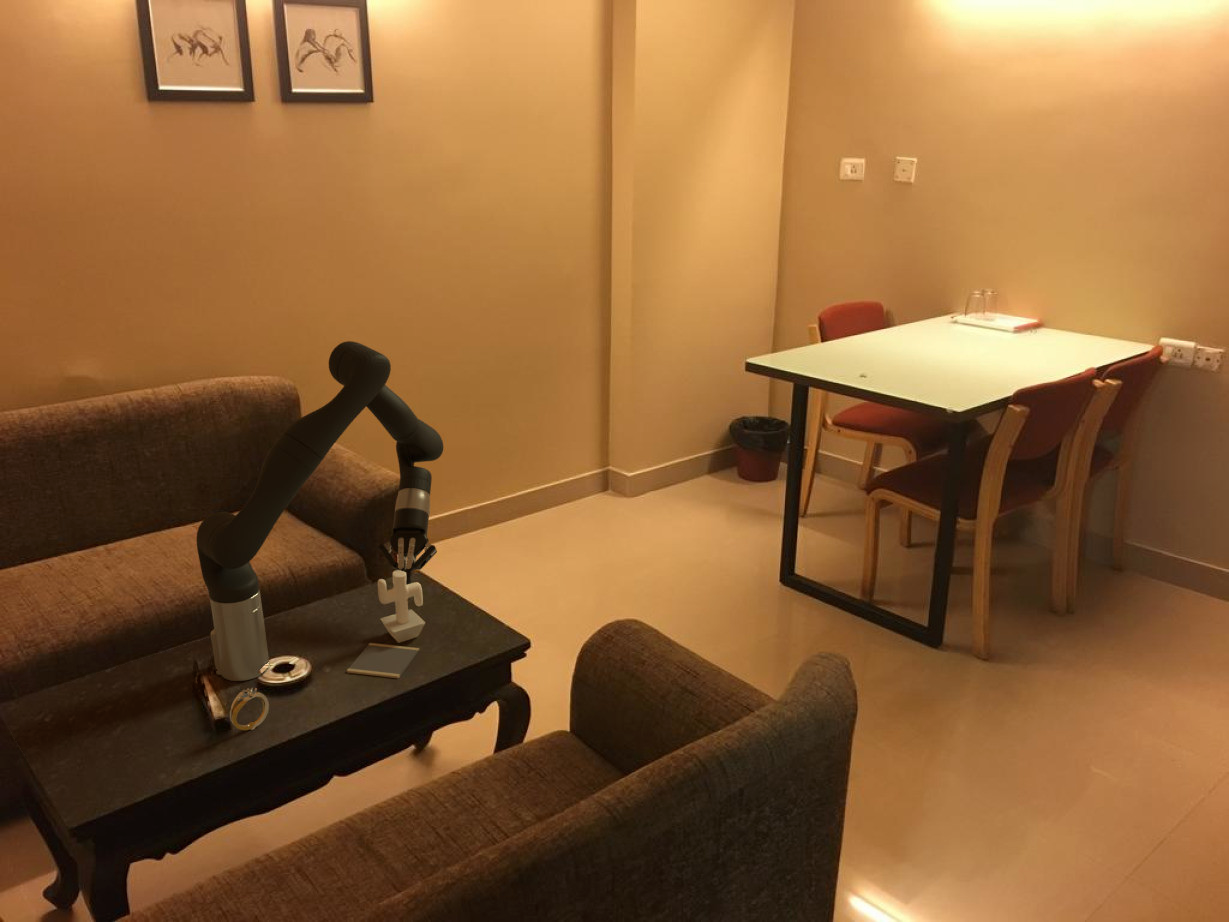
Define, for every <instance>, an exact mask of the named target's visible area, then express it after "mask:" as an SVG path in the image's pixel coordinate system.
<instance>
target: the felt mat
mask: <svg viewBox="0 0 1229 922" xmlns="http://www.w3.org/2000/svg"><path fill="white" fill-rule="evenodd" d="M418 652H420V648H419V647H413V646H412V647H409V646H400V645H392V644H384V643H383V644H382V643H374V642H369V643H368V645H367V646H366V647H365V648H364V649H363V651H362V652H361V653H360V654H359V656H357V658H356V659H355V660H354V661H353V663H352V664H351V665H350V666H349V667H347V669H346V673H349V674H358V675H368V676H374V677H375V676H376V677H385V678H393V679H399V678H400V677H401V675H402V674H403V673H404V672H405V671H406V669H407V668H408V666H409V665H410V664H411V662H412V661H413V659H414V658H415V657H416V655H417V654H418Z"/></svg>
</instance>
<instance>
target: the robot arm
mask: <svg viewBox="0 0 1229 922" xmlns="http://www.w3.org/2000/svg"><path fill="white" fill-rule="evenodd" d="M391 367H392V365H391V362H390V360H389V358H388V357H387V356H385V354H383V353H381V352H379V351H376V350H375V349H373V348H371V347H369V346H366V345H364V344H363V343H360V342H356V341H350V340H348V341H343V342H341V343H339V344H337V345H336V346H335V347H334V348H333V350H332V351H331V353H330V356H329V358H328V371H329V373H330V375H331V376H332V378H333V380H335V381H336V382H338V383H339V384H340V385H342V386H343V387H342V388H341V389H340V390H339V392H338V393H337V394H336V395H335V396H334V397H333V398H332V399H331V400H330V401H329V402H327V403H326V404H325V405H324V406H322V407H319V408H318V409H315V410H313V411H312V412H309V413H308V414H306V415H304V416H302V417H300V418H298V419H296V420H294V422H292V423H291V424H289V425H288V426H287V427H286V428H285V429H284V431H282V433H281V434H280V436H279V437H278V438H277V439H276V440H275V442H274V443H273V444H272V446H271V447H270V449H269V451H268V452H267V454H266V456H265V458H264V460H263V464H262V466H261V470H260V473H259V476H258V479H257V483H256V485H255V487H254V491H253V492H252V494H251V496H250V497H249V499H248V500H247V502H245V504H244V505H243V506H242V508H241V509H240V510H239V512H238V513H237V514H236V515H235V514H234V513H232V512H228V511H217V512H214V513H211V514H209V515H208V516H207V517H205V518H204V519H203V520H201V523H200V524H199V526H198V529H197V533H196V548H197V553H198V554H197V555H198V562H199V566H200V569H201V575H202V579H203V581H204V584H205V587H206V588H207V590H208V596H209V601H210V607H211V614H212V621H213V627H214V628H213V629H212V630H211V632H210V640H211V645H212V653H213V658H214V664H215V671H216V669H217V671H216V672H215V673H216V675H219V676H221V677H222V678H224V679H225V680H228V681H230V682H231V681H232V682H233V681H234V682H242V681H243V682H244V681H249V680H252V679H256V678H258V677H260V676H262V675H261V674H260V672H259V673H258V671H259V670H260V669H261V668H262V667H263V666H264V665H265V664H267V663H268V662H269V663H270V660H269V659H270V658H269V651H268V643H267V637H266V636H267V634H266V628H265V619H264V613H263V612H264V611H263V604H262V598H261V591H260V590H261V589H260V582H259V577H258V575H257V573H256V572H255V569H253V566H252V565H251V561H252V560H253V558H254V557H256V555H257V553H259V551H260V549H261V548H262V546H263V545H264V543H265V541H266V540H267V538H268V536H269V534H270V533H271V531H272V530H273V528H274V526H275V525H276V524H277V521H278V520H279V519H280V517H281V516H282V514H283V513H284V511H285V510H286V508H287V507H288V505H290V503H291V502H292V501H293V499H294V498H295V497H296V495H297V494H298V493H299V491H300V490H301V488H302V487H303V485H304V484H305V483H306V482H307V481H308V479H309V478H310V477H311V476H312V475H313V473H314V472H315V471H316V469H317V468H318V467H319V465H320V464H321V463H322V461H324V459H325V457H326V456H327V455H328V453H329V452H330V450H331V449H332V448H333V446H334V445H335V444H336V442H337V441H338V440H339V438H340V437H341V436H342V435H343V434H344V432H345V431H346V430H347V429H348V427H349V426H350V425H351V423H353V421H355V419H356V418H357V417H358V416H359V415H360V414H361V413H362V412H363V411H364V409H365V408H367V410H369V411H370V412H371V413H372V414H373V416H375V418H376V419H377V420H378V422H379V423H380V424H381V426H382V427H383V428H384V429H385V430H386V432H387V433H388V434H389V435H390V437H392V439H393V440H394V441H395V442H396V443H395V450H396V456H397V461H398V467H399V484H398V490H397V491H398V494H397V497H396V501H395V508H394V517H393V525H392V533H391V535H390V537H389V539H388V541H387V542H385V543H384V544H379V545H378V549H379V551H380V552H381V553H382V555H383V557H385V559H386V560H387V562H388V564H389V566H390V567H391V568H392V569H393V570H394V571H396V570H401V571H404V572H406V579H407V580H406V585H408V584H411V583H412V581H413V572H415V571H421V570H422V569H423V568H424V567H425V566H426V564H427V563H428V562H429V561H430V560H432V558H433V557H434V556H435V555H436V554H437V552H438V550H437V548H436V546H435V545H434V544H431V543H430V541H429V538H428V528H429V519H430V514H431V513H430V512H431V489H432V488H431V487H432V481H433V479H432V473H431V472H430V471H429V470H428V469H426V468H425V467H420V466H415V463H424V462H425V463H426V462H434V461H437V460H438V459H439V458H441V456H442V455H443V451H444V442H443V439H442V437H441V435H440V434H439V432H438V431H437V430H436V429H435V428H433V427H432V426H431V425H429V424H427V423H426V422H424V420H421V419H419V418H418V417H417V416H416V414H415V413H414V411H413V410H412V409H411V408H410V406H409V405H408V404H407V403H406V402H405V401H404V400H403V399H402V398H401V397H400V396H399V395H398V394H396V393H395V392H394V391H393V390H392V389H390V388H389V387H388V386H387V385H386V383H387V382H388V381H389V377H390V375H391V370H392V368H391ZM391 548H393V550H394V552H395V554H397V555H396V556H397V558H398V561H397V562H396V561H395V559H394V558H393V556H392V555H391V552H392V549H391ZM423 550H424V552H423ZM422 552H423V553H422ZM421 553H422V554H421ZM420 554H421V555H420ZM419 555H420V556H419ZM418 556H419V557H418ZM417 557H418V558H417Z"/></svg>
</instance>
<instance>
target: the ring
mask: <svg viewBox="0 0 1229 922" xmlns="http://www.w3.org/2000/svg"><path fill="white" fill-rule="evenodd" d="M253 688H254V687H251V688H249V687H248V688H246V689H244V688H243V689H241V690H242V691H240V692H239V693H238V694H237V695H236V697H235V698H234V700H233V701H232V703H231V707H230V710H229V718H230V721H231V723H232V725H233V726H234V727H235V728H236V729H238V730H241V731H248V730H251V731H252V730H255V729H256V728H257V727H258V726H260V725H261V724H262V723H263V722H264V720H265V719H266V718H267V715H268V714H269V710H270V703H269V700H268V698H267V696H266V695H264V693H262V692H259V691H257V689H258V688H256V687H255V688H254V689H253ZM253 690H254V691H253ZM253 698H259V699H260V701H261V702H262V710H261V711H262V712H261V714H260V715H259V717H258V718H257V719H256V720H255V721H254V722H253V721H251V722H249V723H248V724H246V725H243V724H239V723H238V721H237V716H238V714H239V712H240V711H241V709H242V708H243V707H244V706H245V705H246V704H247V702H248V701H250V700H252V699H253ZM240 700H241V701H240ZM239 701H240V702H239Z"/></svg>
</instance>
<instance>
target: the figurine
mask: <svg viewBox="0 0 1229 922" xmlns="http://www.w3.org/2000/svg"><path fill="white" fill-rule="evenodd" d="M406 580H407V579H406V572H404V571H401V570H394V571H393V572H392V584H393V587H392V588H389V589H387V583H386V580H385V579H383V578H379V579H378V580H377V593H378V594H377V595H378V600H379V602H380V604H382V605H387V604H392V603H394V606H395V607H394V608H395V613H394V614H391V615H388V616H384V617H381V618H379V619H380V621H381V622H382V624H383V626H384V627H385V628H386V630H387V632H388V633H389V635H390V636H391V637H392V638H393V639H394V640H395V641H396V642H397V643H398V644H399V643H402V642H406V641H409V640H412V639H416V638H418V637H419V635H420V633H421V632H422V630H423V628H424V626H425V625H426V622H425V620H423V619H422V618H421V617H420V616H419V615H418V614H417V613H416V612H415V611H414V610H413V609H409V603H408V599H409V598H412V597H413V599H414V604H415V606H417V607H421V606H423V604H424V600H423V599H424V598H423V597H424V596H423V589H422V585H421V584H420V583H419V582H417V581H416V582H411V584H408V585H406Z"/></svg>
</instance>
